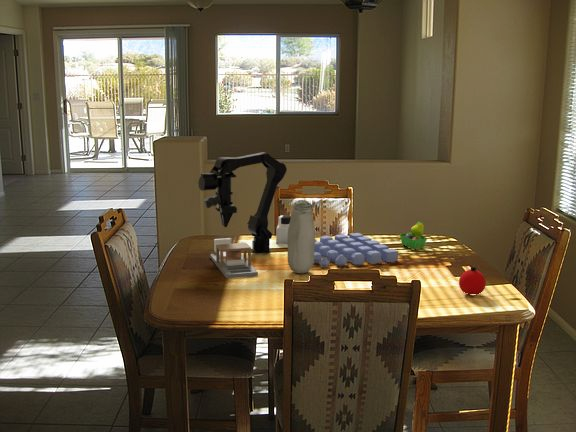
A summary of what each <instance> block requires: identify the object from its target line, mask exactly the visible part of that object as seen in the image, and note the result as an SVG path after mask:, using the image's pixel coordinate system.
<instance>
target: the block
mask: <svg viewBox="0 0 576 432" xmlns="http://www.w3.org/2000/svg"><path fill="white" fill-rule="evenodd" d="M241 255H242V251H230V252H226V260H238V259H241Z"/></svg>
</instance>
